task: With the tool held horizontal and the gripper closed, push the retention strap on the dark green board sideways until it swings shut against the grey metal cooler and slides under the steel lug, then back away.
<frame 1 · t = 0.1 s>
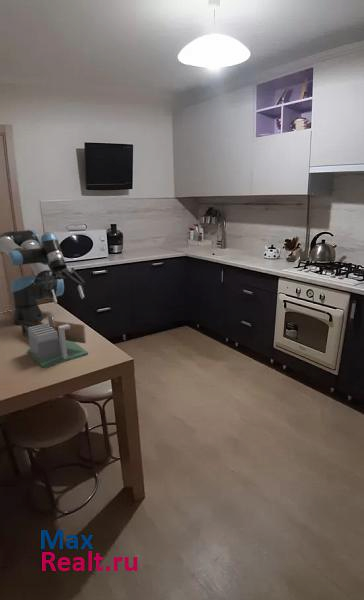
hand: (69, 300, 174), 15 cm above the table, tool tilted 35°, fingers open, 13 cm apart
heat sink: (57, 352, 152), on the table
beverage carton: (39, 338, 170), on the table
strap: (67, 332, 154), point 8 cm above the table, hinge at 30.0°
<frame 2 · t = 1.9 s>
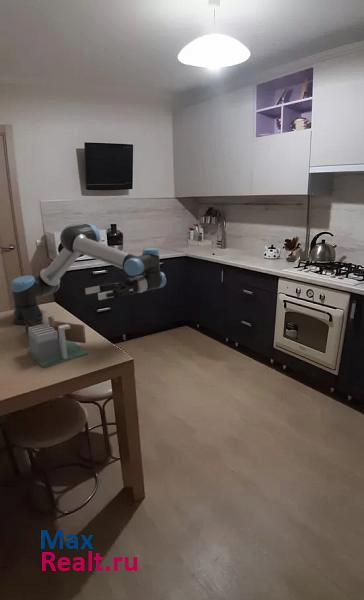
hand: (91, 294, 152), 24 cm above the table, tool horizontal, fingers open, 13 cm apart
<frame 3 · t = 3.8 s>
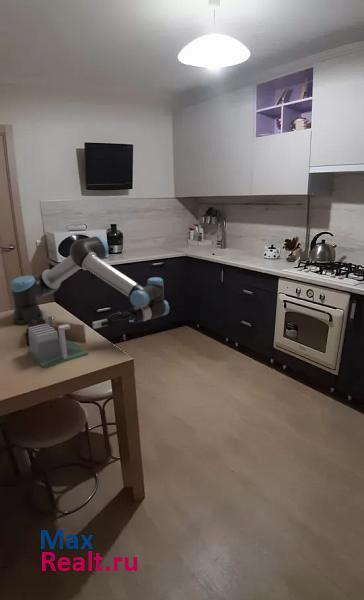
hand: (93, 325, 154), 10 cm above the table, tool horizontal, fingers closed
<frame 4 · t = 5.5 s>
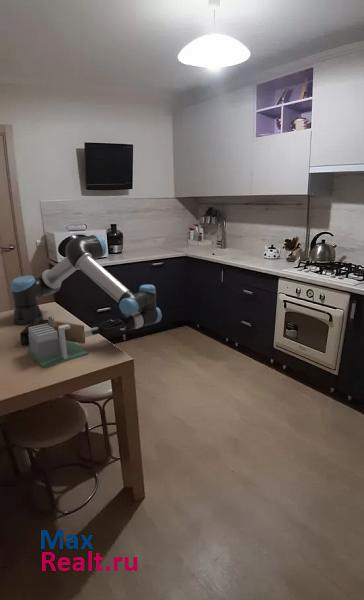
hand: (83, 333, 152), 8 cm above the table, tool horizontal, fingers closed
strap: (66, 332, 154), point 8 cm above the table, hinge at 28.6°, touching gripper
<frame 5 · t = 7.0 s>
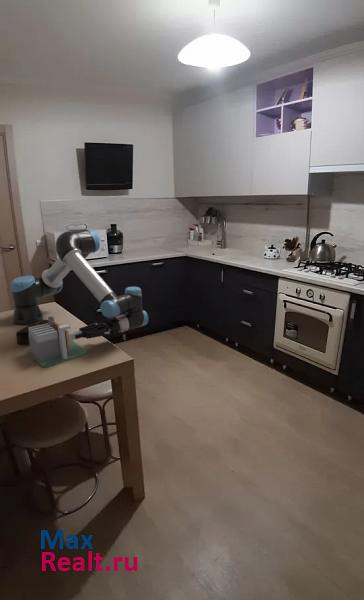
hand: (66, 337, 148), 8 cm above the table, tool horizontal, fingers closed, pressing on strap
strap: (59, 335, 151), point 8 cm above the table, hinge at 1.8°, touching gripper
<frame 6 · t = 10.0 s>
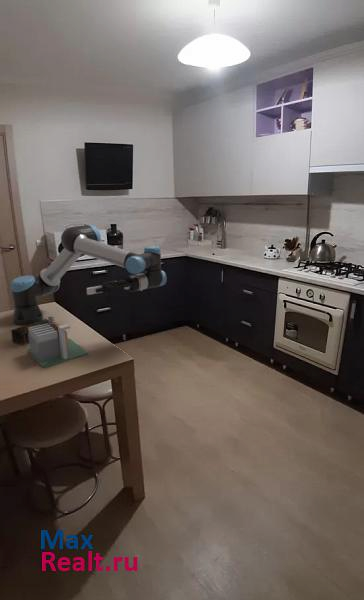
hand: (87, 291, 150), 26 cm above the table, tool horizontal, fingers closed
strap: (58, 335, 151), point 8 cm above the table, hinge at -0.3°
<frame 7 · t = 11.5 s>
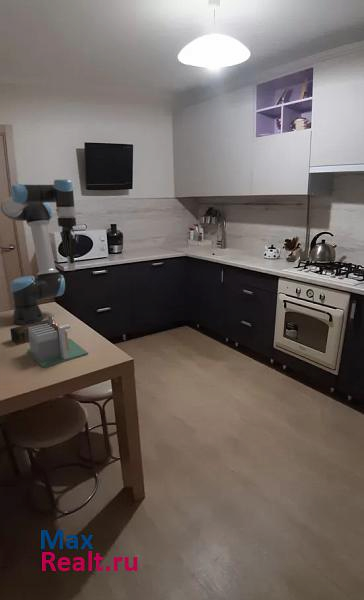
hand: (71, 269, 162), 32 cm above the table, tool pointing down, fingers closed
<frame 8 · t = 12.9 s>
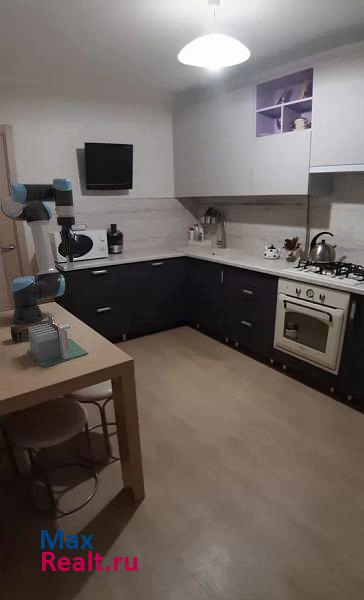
hand: (71, 269, 161), 32 cm above the table, tool pointing down, fingers closed
at the end: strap at +0° (first picture: +30°) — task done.
